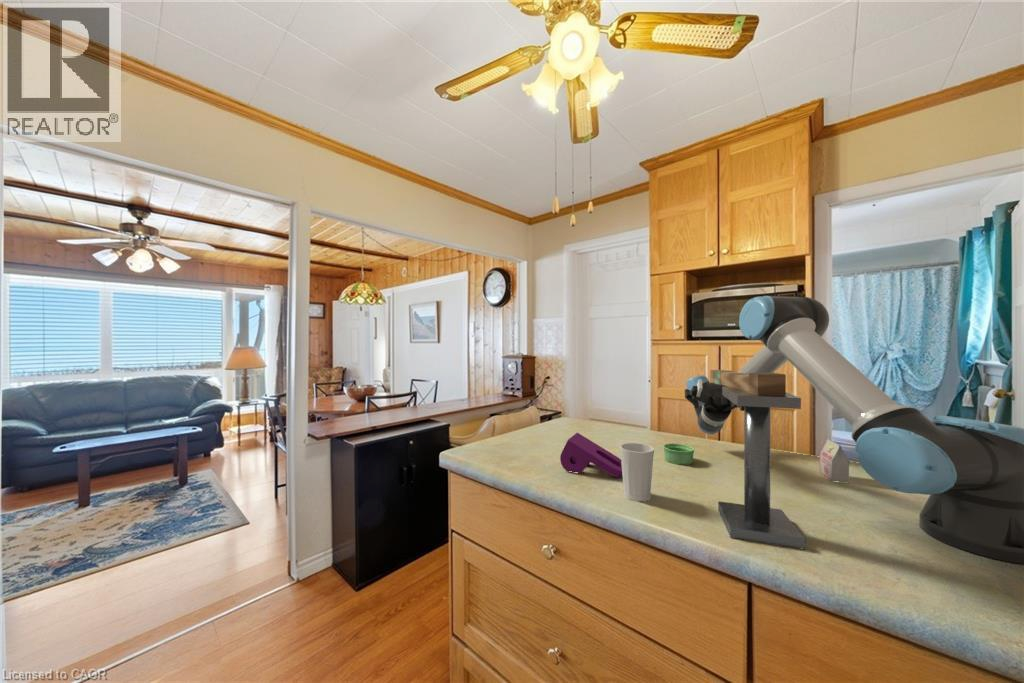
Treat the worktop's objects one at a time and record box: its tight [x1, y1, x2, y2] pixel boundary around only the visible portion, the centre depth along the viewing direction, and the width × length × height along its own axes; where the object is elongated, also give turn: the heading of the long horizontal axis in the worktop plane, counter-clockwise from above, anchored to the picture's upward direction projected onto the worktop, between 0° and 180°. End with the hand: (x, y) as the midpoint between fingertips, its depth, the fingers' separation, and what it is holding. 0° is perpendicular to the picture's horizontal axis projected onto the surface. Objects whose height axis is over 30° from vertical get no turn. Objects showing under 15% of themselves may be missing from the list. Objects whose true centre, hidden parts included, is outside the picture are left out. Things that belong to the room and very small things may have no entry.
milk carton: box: [819, 438, 850, 483], centre depth 100 cm, size 4×7×10 cm, turn 162°
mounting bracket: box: [559, 432, 623, 479], centre depth 107 cm, size 9×8×18 cm
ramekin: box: [663, 442, 695, 466], centre depth 115 cm, size 9×9×4 cm
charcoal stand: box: [717, 386, 806, 550], centre depth 74 cm, size 15×12×28 cm
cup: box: [619, 442, 655, 502], centre depth 90 cm, size 8×8×12 cm
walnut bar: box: [709, 369, 787, 396], centre depth 80 cm, size 22×5×4 cm, turn 175°
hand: (728, 384), depth 98 cm, fingers open, 13 cm apart
